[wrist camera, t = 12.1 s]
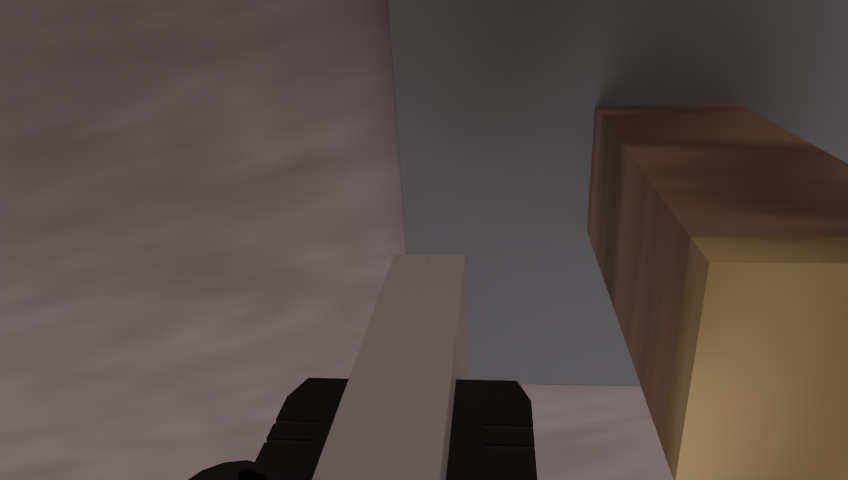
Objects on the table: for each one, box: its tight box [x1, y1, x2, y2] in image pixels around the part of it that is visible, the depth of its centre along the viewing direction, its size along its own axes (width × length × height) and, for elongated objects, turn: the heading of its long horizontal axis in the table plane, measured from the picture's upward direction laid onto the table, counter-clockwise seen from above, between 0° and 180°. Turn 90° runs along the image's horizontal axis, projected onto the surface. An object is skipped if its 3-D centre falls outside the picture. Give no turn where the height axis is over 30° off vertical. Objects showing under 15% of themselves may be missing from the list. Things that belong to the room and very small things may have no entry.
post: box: [587, 103, 848, 480], centre depth 16 cm, size 4×4×12 cm
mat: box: [388, 0, 848, 386], centre depth 21 cm, size 20×18×1 cm
